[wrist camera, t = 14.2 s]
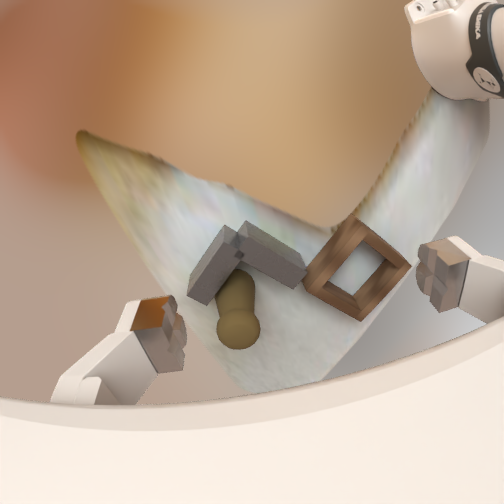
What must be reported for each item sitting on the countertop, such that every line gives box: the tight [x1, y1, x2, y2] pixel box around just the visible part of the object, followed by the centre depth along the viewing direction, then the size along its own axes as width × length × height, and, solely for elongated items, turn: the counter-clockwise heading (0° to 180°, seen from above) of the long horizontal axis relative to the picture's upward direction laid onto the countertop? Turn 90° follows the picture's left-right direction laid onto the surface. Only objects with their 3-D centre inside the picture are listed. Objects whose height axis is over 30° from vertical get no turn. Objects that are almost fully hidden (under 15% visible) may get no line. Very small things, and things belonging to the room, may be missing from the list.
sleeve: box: [302, 214, 412, 322], centre depth 42 cm, size 12×12×4 cm
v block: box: [187, 221, 308, 306], centre depth 39 cm, size 8×16×5 cm, turn 101°
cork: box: [215, 269, 260, 350], centre depth 39 cm, size 6×6×11 cm
